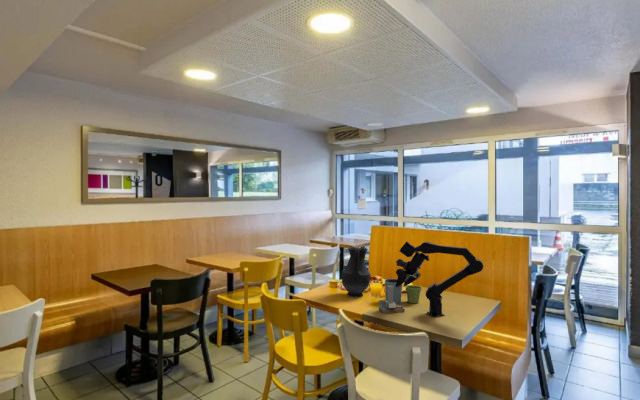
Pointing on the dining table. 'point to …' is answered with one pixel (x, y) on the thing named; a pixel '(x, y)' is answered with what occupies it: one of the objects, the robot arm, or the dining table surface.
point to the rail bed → (385, 309)
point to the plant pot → (413, 293)
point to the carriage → (390, 298)
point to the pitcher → (356, 273)
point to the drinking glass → (396, 290)
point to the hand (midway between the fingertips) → (400, 286)
